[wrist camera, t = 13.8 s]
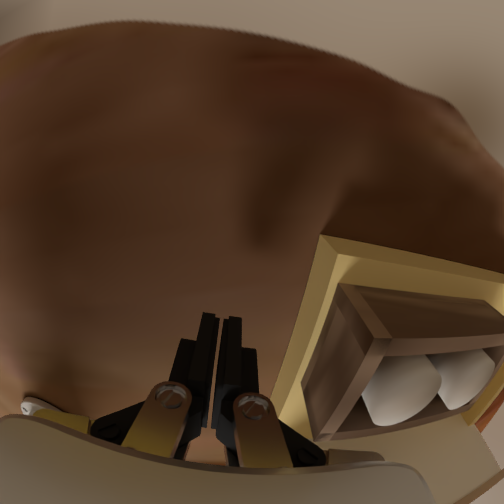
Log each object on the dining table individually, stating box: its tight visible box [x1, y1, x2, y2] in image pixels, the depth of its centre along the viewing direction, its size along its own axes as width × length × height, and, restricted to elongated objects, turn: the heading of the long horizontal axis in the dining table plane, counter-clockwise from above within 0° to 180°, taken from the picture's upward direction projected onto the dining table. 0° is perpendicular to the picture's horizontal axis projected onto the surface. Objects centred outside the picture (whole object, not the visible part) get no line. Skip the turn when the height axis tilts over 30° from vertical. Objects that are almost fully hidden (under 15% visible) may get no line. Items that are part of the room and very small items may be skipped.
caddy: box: [300, 283, 504, 442], centre depth 11 cm, size 6×12×5 cm, turn 80°
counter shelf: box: [270, 234, 504, 504], centre depth 11 cm, size 17×23×14 cm
